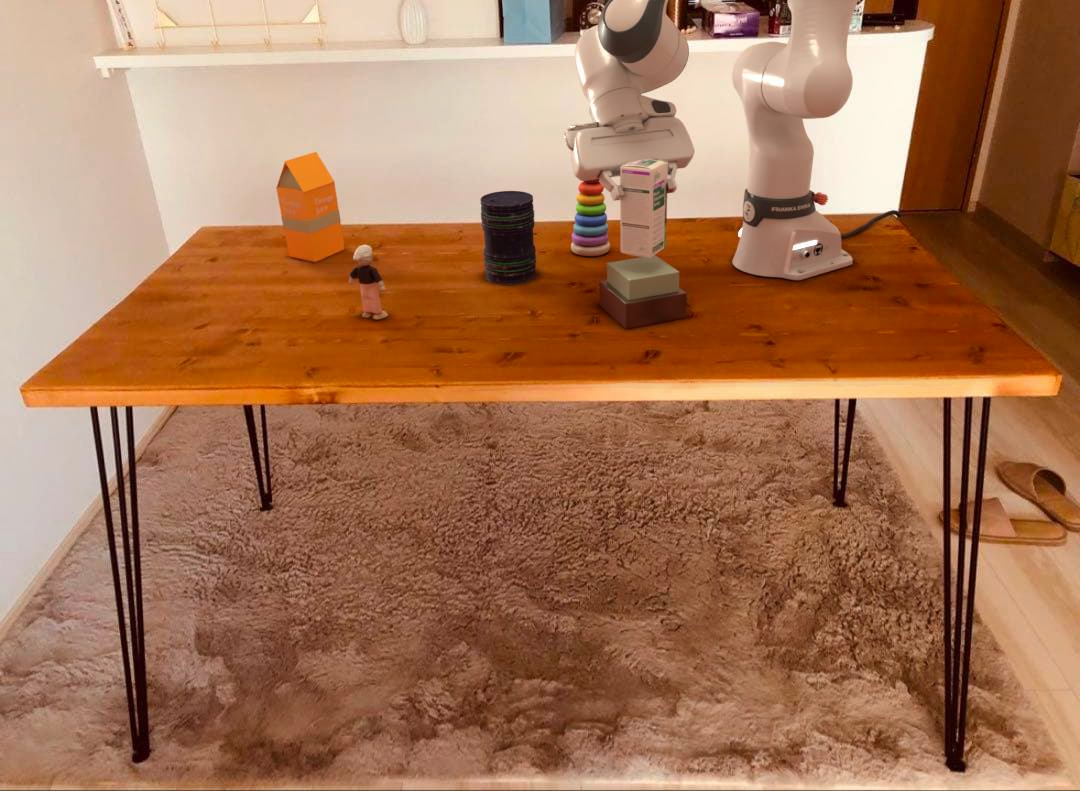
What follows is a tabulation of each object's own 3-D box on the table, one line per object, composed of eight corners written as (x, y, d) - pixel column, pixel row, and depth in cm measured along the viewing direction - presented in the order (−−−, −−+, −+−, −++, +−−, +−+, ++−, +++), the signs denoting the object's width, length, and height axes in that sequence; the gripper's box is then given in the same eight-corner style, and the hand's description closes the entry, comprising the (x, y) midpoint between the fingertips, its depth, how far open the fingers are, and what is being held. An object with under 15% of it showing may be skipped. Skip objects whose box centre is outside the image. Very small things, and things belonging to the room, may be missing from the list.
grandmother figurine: (397, 313, 148) (388, 243, 142) (387, 321, 145) (377, 250, 139) (358, 308, 150) (348, 239, 144) (347, 317, 147) (336, 247, 141)
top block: (654, 274, 147) (654, 254, 146) (678, 291, 140) (679, 271, 138) (606, 282, 145) (606, 262, 143) (629, 300, 137) (629, 280, 136)
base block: (656, 295, 151) (656, 271, 148) (685, 317, 142) (687, 292, 139) (599, 305, 148) (599, 281, 145) (625, 329, 138) (626, 303, 136)
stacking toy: (607, 258, 168) (607, 163, 159) (567, 257, 170) (565, 162, 161) (612, 245, 175) (613, 153, 166) (574, 244, 176) (572, 153, 167)
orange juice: (288, 256, 176) (270, 159, 166) (318, 243, 183) (303, 149, 173) (315, 262, 172) (298, 163, 163) (345, 249, 179) (331, 153, 169)
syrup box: (651, 258, 136) (654, 168, 129) (618, 253, 139) (619, 164, 132) (666, 248, 140) (670, 159, 133) (634, 242, 143) (636, 156, 136)
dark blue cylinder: (524, 262, 168) (520, 187, 160) (545, 278, 160) (542, 200, 153) (477, 272, 164) (471, 195, 157) (497, 288, 156) (491, 208, 149)
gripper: (566, 114, 132) (590, 192, 128) (683, 102, 137) (709, 176, 134) (556, 138, 138) (579, 213, 134) (669, 125, 143) (694, 197, 140)
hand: (645, 194), depth 134 cm, fingers closed on syrup box, 8 cm apart
